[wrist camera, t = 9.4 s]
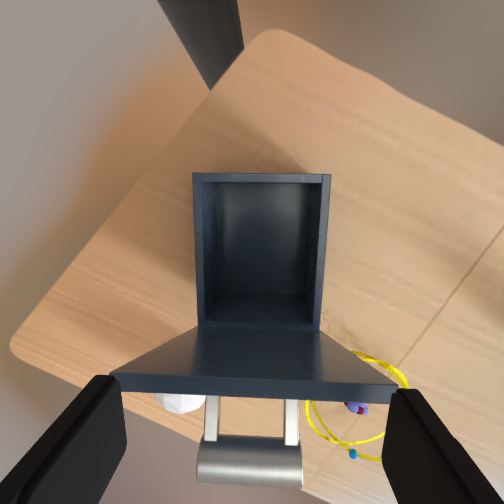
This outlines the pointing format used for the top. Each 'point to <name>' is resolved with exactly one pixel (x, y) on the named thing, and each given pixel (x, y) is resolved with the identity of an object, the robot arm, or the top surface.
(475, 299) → the top surface
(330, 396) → the freezer lid
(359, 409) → the atom model
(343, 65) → the top surface
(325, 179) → the box
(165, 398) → the geometric ball
